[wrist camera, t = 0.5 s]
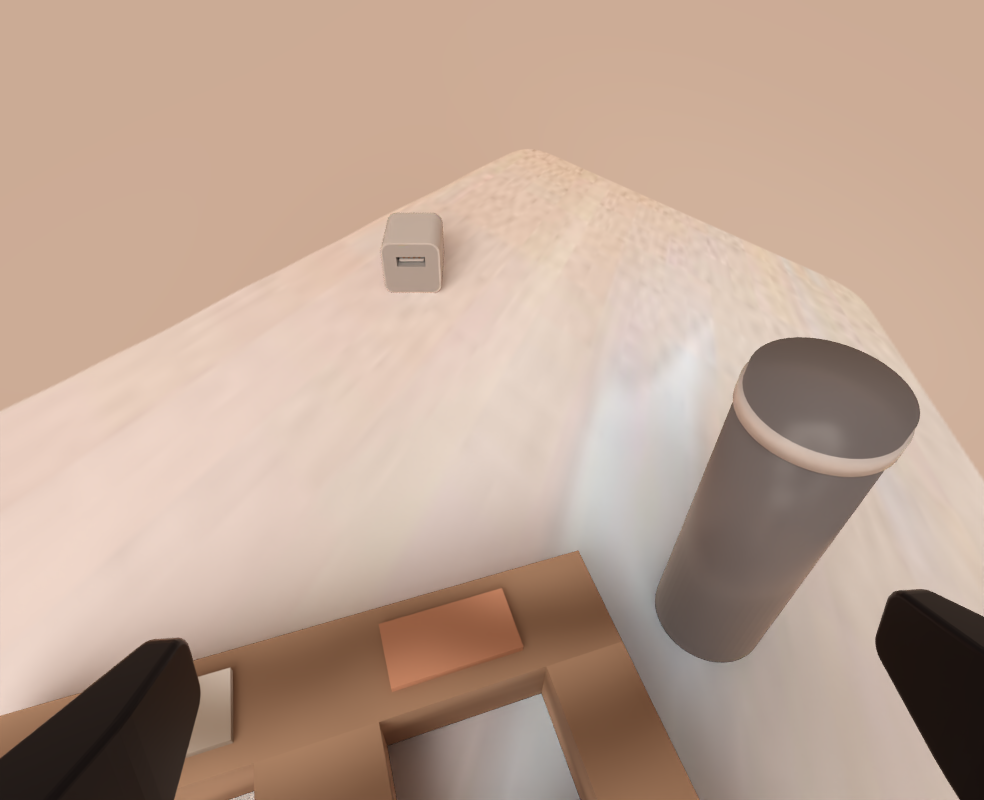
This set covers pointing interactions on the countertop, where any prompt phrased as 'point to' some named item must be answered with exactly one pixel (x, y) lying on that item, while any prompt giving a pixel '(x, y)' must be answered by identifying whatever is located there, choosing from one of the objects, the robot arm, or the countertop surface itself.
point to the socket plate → (421, 693)
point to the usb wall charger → (413, 253)
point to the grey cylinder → (780, 488)
